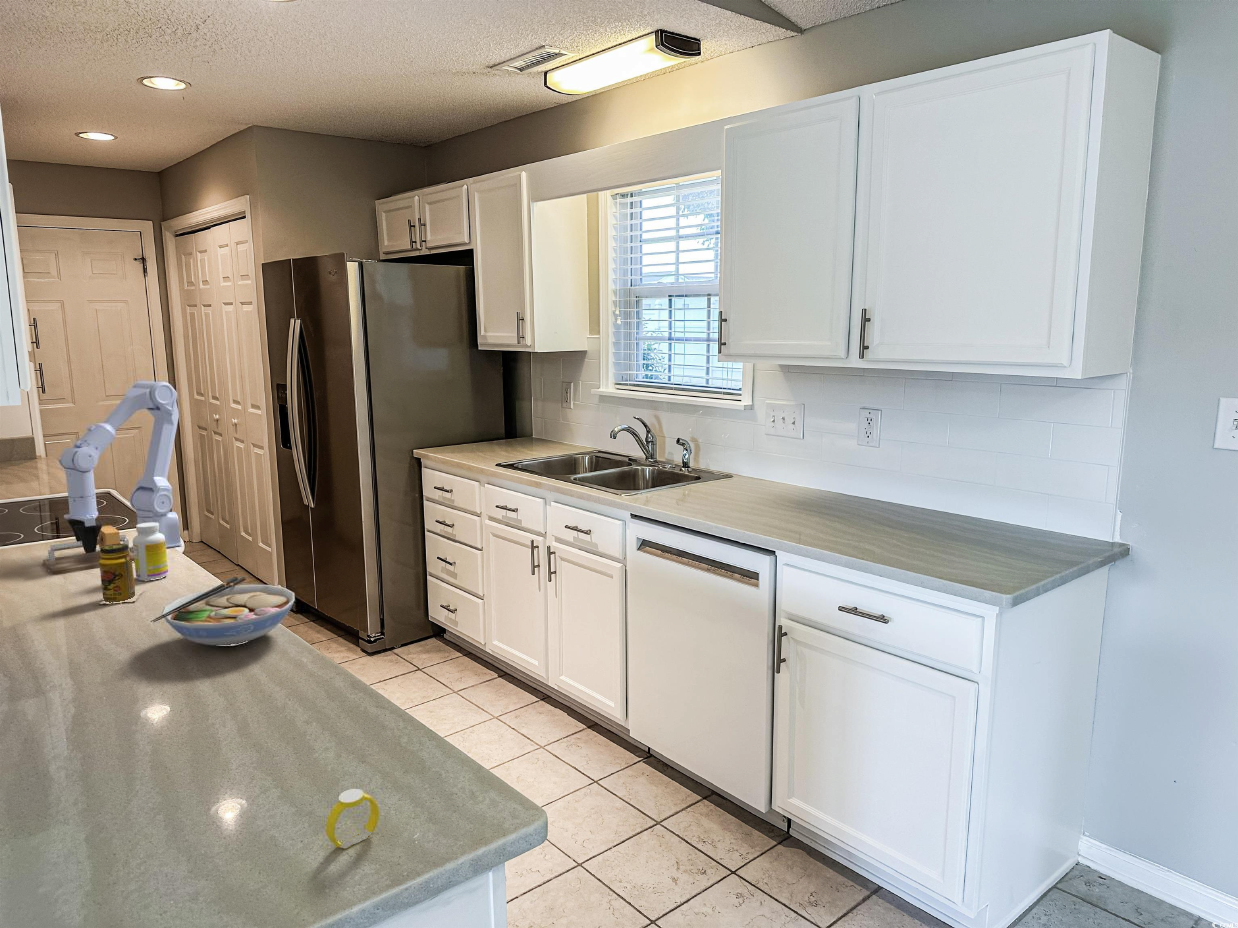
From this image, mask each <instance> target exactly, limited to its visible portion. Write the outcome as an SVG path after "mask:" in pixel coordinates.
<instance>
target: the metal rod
mask: <svg viewBox="0 0 1238 928" xmlns="http://www.w3.org/2000/svg"><path fill="white" fill-rule="evenodd" d="M121 542H122V543H123V544H127V545H128V546H129V547H130V540H129V539H128V538H127V536H126V534H120V543H121ZM101 544H104V543H103V538H98V540H97V546H99V545H101ZM81 548H83V545H82V541H72V542H71V541H69V542H64V543H58V544H57V543H56V544H50V546H49V549H48V550H47V554H48V559H49V564H50V566H51V565H55V558H56V556H55V552H59V551H60V552H61V551H66V550H72V549H81ZM128 551H129V553H130V552H131V551H130V548H129V549H128Z"/></svg>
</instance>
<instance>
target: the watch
mask: <svg viewBox="0 0 1238 928" xmlns="http://www.w3.org/2000/svg"><path fill="white" fill-rule="evenodd" d="M364 801H368V803H369V807H370V815H369V818H368V821H367V824H366V825H365V826H364V828H365V827H366V829H367V830H368V831H369V832H371V831H372V833H373V832H374V831H375V829H376V828H377V825H378V821H379V818H380V811H379V805H378V803H377V802H376V801H375V800H374V798H373V797H371V796H370V795H369V794H368V793H364V790H362V789H360V788H351V789H347V790H345V791H342V792H341V793H340V794H339V795H338V802H337V803H336V804H335V805H334V806H333V808H332V809H331V811H330V812H329V815H328V816H327V817H328V818H327V819H326V827H325V829H326V830H325V831H326V835H327V837H328V839H329V840H330V842H331V843H332V844H333V845H335V846H336V847H338V848H340V846H342V844H341V843H340V842H339V841H340V840H338V839H337V837H336V835H335V834H336V832H335V831H336V824H337V823H338V822H337V821H338V819H339V818H340V815H341V814H342V813H343V812H344V810H345V809H346V808H348V809H349V808H354V807H357V806H359V805H361V804H362V803H363V802H364ZM337 840H338V841H337Z"/></svg>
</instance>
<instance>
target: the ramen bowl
mask: <svg viewBox="0 0 1238 928" xmlns="http://www.w3.org/2000/svg"><path fill="white" fill-rule="evenodd" d="M245 581H246V577H244V576H243V577H240V578H238V576H234V577H231V578H230V579H228V580H226V581H225V582H222V583H221V584H218V585H216V586H215V587H213V588H211V589H207V590H201V591H196V592H194V593H190V594H188V595H183V596H181V597H178V598H176V599H175V600H173V601H171V602H170V603H168V604H166V605H165V606H164V607H163V610H162V612H161V615H160V616H158V617H156V618H154V619H152V620H150V623H152V622H153V623H156V622H157V621H160V620H163V619H164V620H165V622H166V623H167V624H168V625H169V626H170V627H171V628H172V629H173V630H174V631H175V632H177V633H178V634H179V635H181V636H182V637H183V638H185V639H186V640H187V641H190V642H193V643H198V644H203V645H207V646H214V645H231V644H239V643H243V642H246V641H250V640H252V641H253V640H255V639H257V638H259V637H263V636H265V635H267V634H268V633H270V632H271V631H273V630H274V629H275V628H276V627H277V626H278V625H280V624H281V623H282V622H283V620H284V619H285V618H286V617H287V615H288V613H289V612H290V610H291V609H292V607H293V605H294V603H295V592H293V591H291V590H289V589H287V588H286V587H282V586H276V585H270V584H241V583H242V582H245ZM238 584H241V585H238ZM250 642H251V641H250Z"/></svg>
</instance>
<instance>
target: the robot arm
mask: <svg viewBox="0 0 1238 928" xmlns="http://www.w3.org/2000/svg"><path fill="white" fill-rule="evenodd" d="M177 398H178V392H177V391H176V389H174V387H173V386H172V384H170V383H168V382H167V381H147V380H138V381H136V382H135V383H134V384H132V386H131V387H130V388H129V389H127V390H126V393H125V395H124V397H123V399H121V401H120V402H119V403H118V404H117V406H115V408H114V409H113V410H112V411H111V412H110V414H108V416H107V417H106V418H105V419H104V420H103V422H101V423H100V422H99V423H97V422H96V423H93V425H92V424H90V425H89V426H87V428H86V430H87V431H86V432H85V433H84V434H83V435H82V436H81V437H80V438H79V439H78V440H75V441H74V442H73V446H70V447H67V448H66V449H64V450H63V451H62V452H61V456H60V458H59V459H58V463H59V466H61V467H62V468H63V469H64V475H65V479H66V480H65V481H66V490H67V499H68V501H67V502H68V508H69V511H68V512H69V514H68V513H67V514H64V515H63V518H64V519H65V520H66V522H67V523H68V524H69V526H70V528H71V529H72V531H73V534H74V538H75V542H77V541H82V545H83V547H82V548H83V551H84V553H92V552H97V546H98V545H97V540H98V535H99V532H100V530H101V528H102V526H103V524H102V523H96V518H97V517H98V516H99V511H98V506H97V496H96V495H97V494H96V485H95V474H94V469H95V468H96V467H97V466H98V463H99V458H100V456H101V455H102V453H103V452H104V451H105V450H106V449H107V448H108V447H109V446H110V445H111V444H112V443H113V442H114V441H115V439H116V431H117V430H119V428H120V427H122V426H123V425H124V423H126V422H127V421H128V420H129V419H130V418H131V417H132V416H133V415H134V414H135V413H136V412H137V411H140V410H146V411H148V412H149V414H151V416H152V417H153V419H154V422H153V426H152V431H151V437H150V441H149V447H148V453H147V458H146V462H145V467H144V473H143V476H142V477H141V478H140V479H139V480H138V481H137V482H136V484H135V488H134V490H133V491H132V493H131V495H130V498H129V504H130V507H131V508H132V509H134V510H135V514H136V518H137V519H136V520H137V525H138V524H142V523H150V522H155V523H159V530H158V531H159V533H161V534H163V535H164V537H165V544H166V549H168V548H174V547H180V546H182V541H181V540H182V539H181V531H180V530H181V529H180V521H179V516H178V514H177V512H176V511H171V509H172V508H173V503H174V499H173V494H172V491H173V487H172V486H171V484H170V482H169V481H168V475H169V470H170V464H171V458H172V455H173V451H174V450H173V449H174V444H175V437H176V434H177V429H178V423H179V417H180V413H179V408H178V404H177V403H178V402H177Z"/></svg>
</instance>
